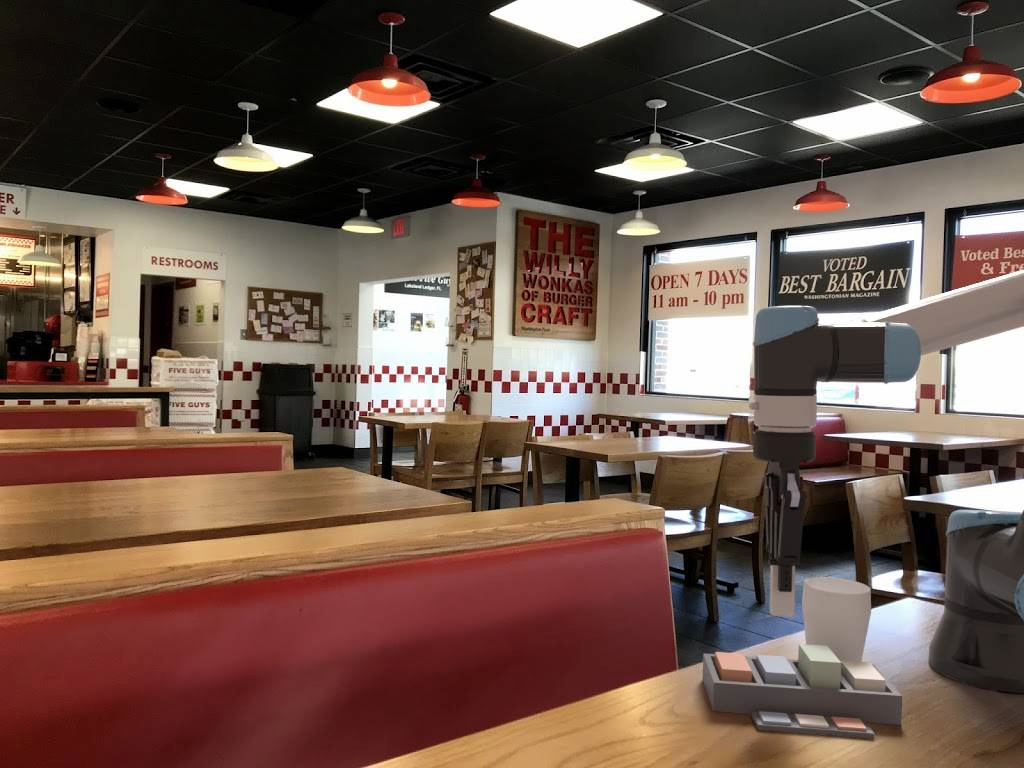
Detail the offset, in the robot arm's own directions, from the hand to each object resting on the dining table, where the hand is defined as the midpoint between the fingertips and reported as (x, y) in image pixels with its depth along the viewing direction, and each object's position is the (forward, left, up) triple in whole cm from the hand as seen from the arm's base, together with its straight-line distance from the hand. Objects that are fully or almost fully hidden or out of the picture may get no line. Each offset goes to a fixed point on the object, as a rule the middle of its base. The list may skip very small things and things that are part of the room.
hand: (781, 614), depth 101 cm
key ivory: (-10, 0, -10) cm, 14 cm away
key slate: (+1, 0, -10) cm, 10 cm away
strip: (-2, +8, -11) cm, 13 cm away
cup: (-10, -12, -11) cm, 19 cm away
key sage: (-5, 0, -8) cm, 9 cm away
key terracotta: (+6, 0, -10) cm, 12 cm away
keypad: (-2, 0, -11) cm, 11 cm away
